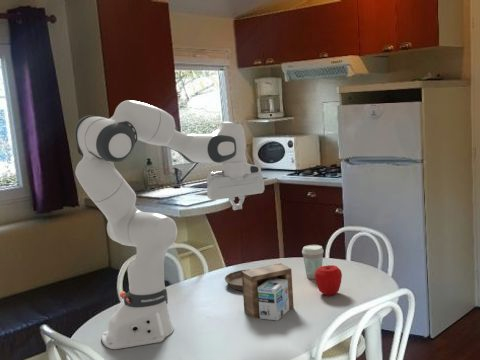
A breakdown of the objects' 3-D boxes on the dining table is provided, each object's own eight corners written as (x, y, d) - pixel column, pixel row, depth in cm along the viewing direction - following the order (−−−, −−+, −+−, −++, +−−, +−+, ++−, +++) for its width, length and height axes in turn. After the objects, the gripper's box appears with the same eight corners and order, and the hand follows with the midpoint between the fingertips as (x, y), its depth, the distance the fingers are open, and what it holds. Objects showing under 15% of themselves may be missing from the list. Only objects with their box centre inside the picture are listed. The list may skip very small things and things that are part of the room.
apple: (330, 287, 214) (329, 259, 213) (348, 293, 206) (347, 264, 205) (310, 293, 209) (308, 264, 207) (327, 300, 201) (326, 270, 199)
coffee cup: (299, 275, 231) (298, 246, 229) (319, 272, 233) (317, 243, 232) (308, 281, 223) (307, 251, 221) (328, 278, 225) (327, 248, 224)
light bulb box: (277, 321, 186) (275, 289, 184) (258, 319, 189) (256, 287, 187) (290, 309, 195) (288, 278, 194) (271, 307, 198) (269, 277, 197)
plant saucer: (279, 275, 234) (278, 267, 233) (277, 292, 213) (276, 284, 213) (228, 277, 236) (228, 269, 236) (221, 294, 216) (221, 286, 215)
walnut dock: (253, 317, 190) (251, 276, 188) (244, 311, 197) (241, 271, 195) (293, 308, 196) (291, 268, 194) (283, 301, 203) (280, 263, 201)
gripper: (209, 173, 189) (212, 215, 191) (265, 166, 197) (267, 206, 199) (202, 172, 195) (205, 212, 197) (257, 165, 203) (259, 204, 205)
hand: (237, 209), depth 198 cm, fingers closed
